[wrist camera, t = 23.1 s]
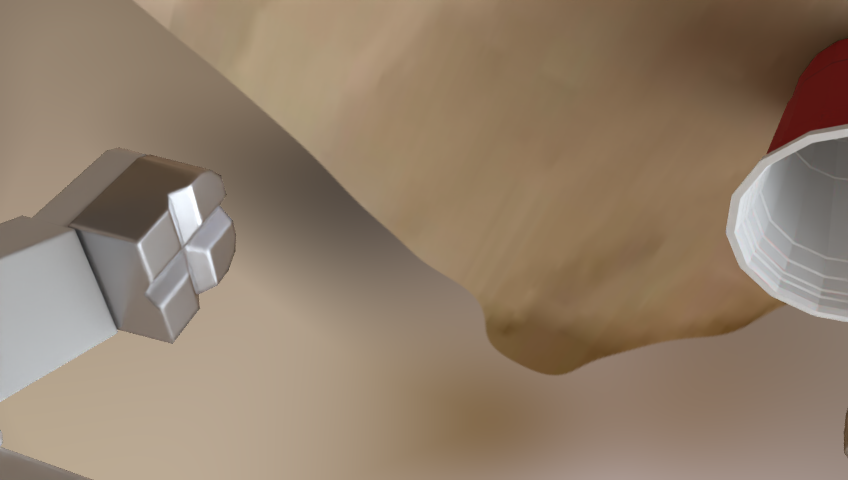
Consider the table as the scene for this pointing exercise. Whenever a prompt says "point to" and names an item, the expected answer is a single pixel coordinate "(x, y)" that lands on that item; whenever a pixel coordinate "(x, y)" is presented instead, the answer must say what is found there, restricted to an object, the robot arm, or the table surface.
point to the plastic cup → (801, 197)
